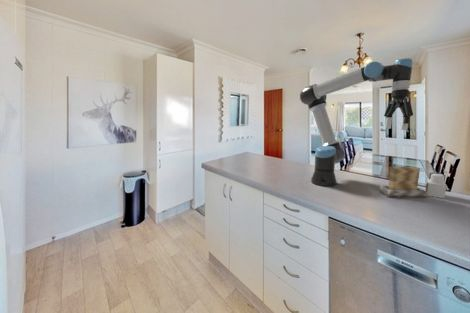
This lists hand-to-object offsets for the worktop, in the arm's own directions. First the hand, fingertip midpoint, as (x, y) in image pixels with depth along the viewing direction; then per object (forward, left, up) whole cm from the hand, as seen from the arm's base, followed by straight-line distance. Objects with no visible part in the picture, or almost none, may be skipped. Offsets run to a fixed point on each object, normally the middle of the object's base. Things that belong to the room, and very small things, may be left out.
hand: (395, 129), depth 119 cm
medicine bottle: (+16, +12, -35) cm, 40 cm away
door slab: (+9, -3, -34) cm, 35 cm away
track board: (+9, -3, -35) cm, 36 cm away
